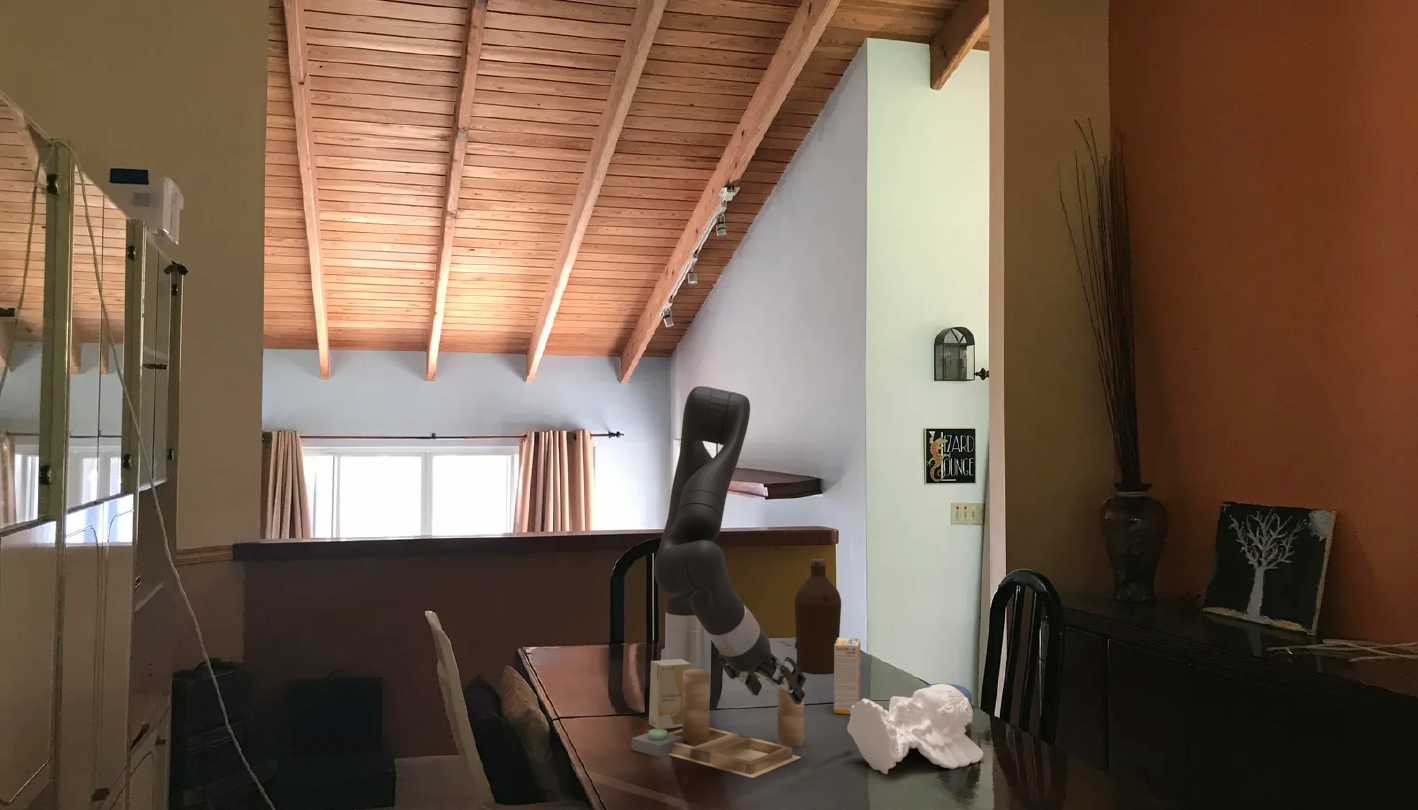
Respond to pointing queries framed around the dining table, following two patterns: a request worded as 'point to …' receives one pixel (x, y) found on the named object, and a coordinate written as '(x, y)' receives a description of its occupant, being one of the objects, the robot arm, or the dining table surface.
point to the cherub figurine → (915, 728)
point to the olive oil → (817, 621)
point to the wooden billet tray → (735, 753)
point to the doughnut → (960, 688)
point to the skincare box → (667, 693)
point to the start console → (655, 742)
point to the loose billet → (789, 720)
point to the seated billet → (696, 706)
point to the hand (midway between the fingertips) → (778, 695)
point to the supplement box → (846, 674)
